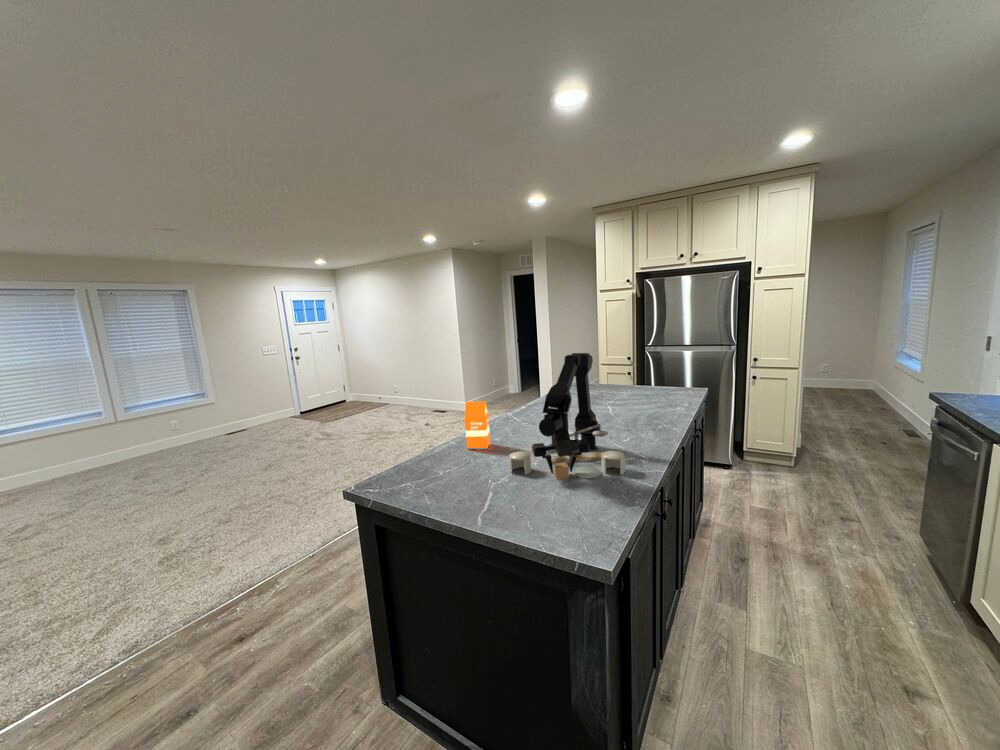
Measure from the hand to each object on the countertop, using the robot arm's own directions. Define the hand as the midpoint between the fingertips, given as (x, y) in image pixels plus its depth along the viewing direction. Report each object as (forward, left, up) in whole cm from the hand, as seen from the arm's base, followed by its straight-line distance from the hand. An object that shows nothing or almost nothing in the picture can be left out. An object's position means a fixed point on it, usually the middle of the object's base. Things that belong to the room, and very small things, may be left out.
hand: (561, 472), depth 136 cm
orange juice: (-37, -27, -2) cm, 46 cm away
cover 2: (0, +18, -1) cm, 18 cm away
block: (0, 0, -2) cm, 2 cm away
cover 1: (-7, -13, -1) cm, 15 cm away
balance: (-13, +9, -1) cm, 16 cm away
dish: (0, +9, -1) cm, 9 cm away
